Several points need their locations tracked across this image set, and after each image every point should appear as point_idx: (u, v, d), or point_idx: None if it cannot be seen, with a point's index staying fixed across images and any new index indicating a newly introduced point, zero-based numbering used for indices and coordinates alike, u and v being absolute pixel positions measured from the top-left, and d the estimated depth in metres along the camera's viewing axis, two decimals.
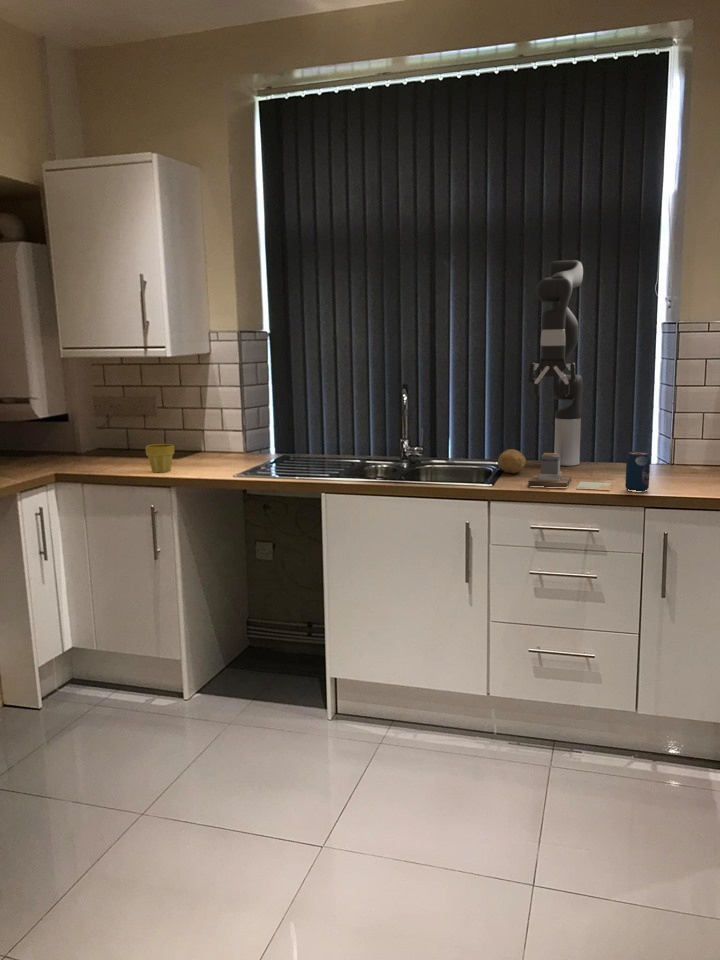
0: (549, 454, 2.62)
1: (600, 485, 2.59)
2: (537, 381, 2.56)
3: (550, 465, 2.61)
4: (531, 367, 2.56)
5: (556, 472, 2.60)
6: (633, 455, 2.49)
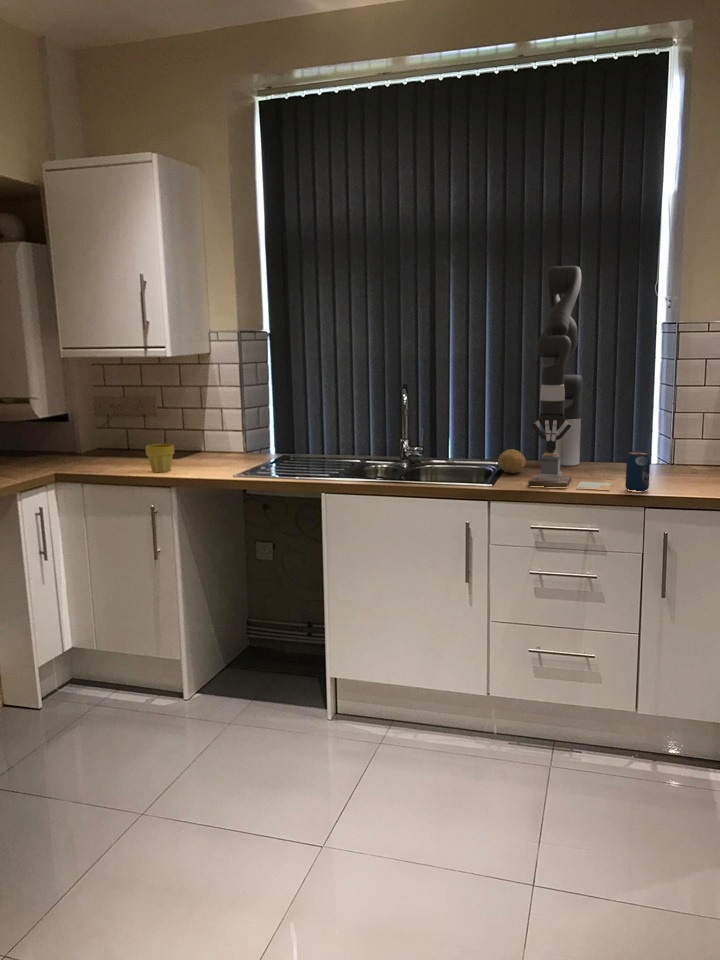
0: (549, 454, 2.62)
1: (600, 485, 2.59)
2: (549, 438, 2.61)
3: (550, 465, 2.61)
4: (535, 427, 2.62)
5: (556, 472, 2.60)
6: (633, 455, 2.49)
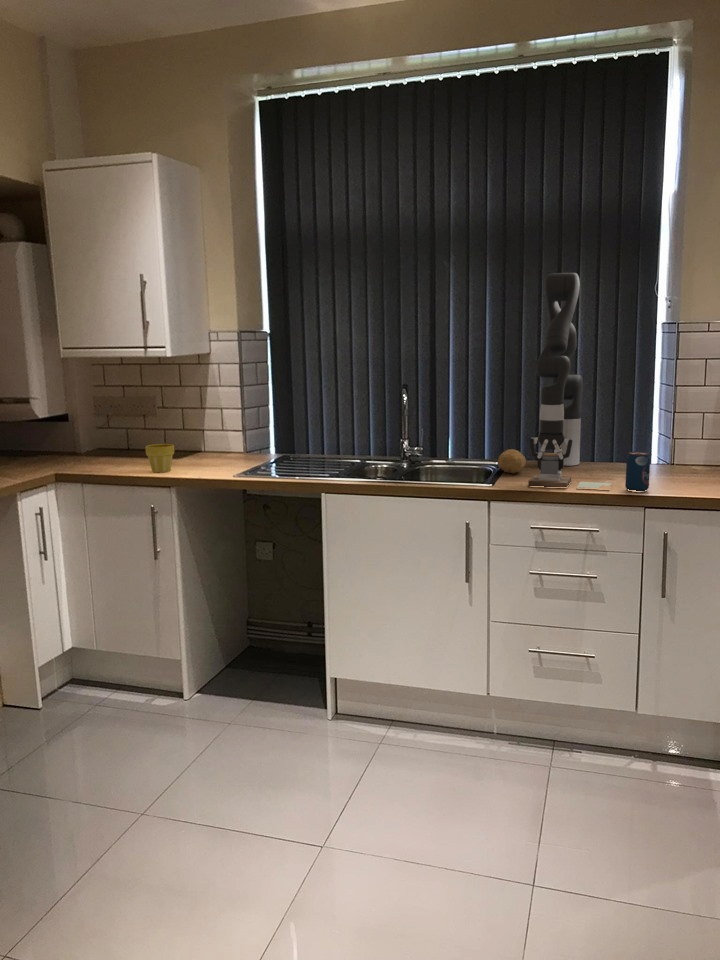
0: (549, 454, 2.62)
1: (600, 485, 2.59)
2: (540, 455, 2.63)
3: (550, 465, 2.61)
4: (531, 442, 2.63)
5: (556, 472, 2.60)
6: (633, 455, 2.49)
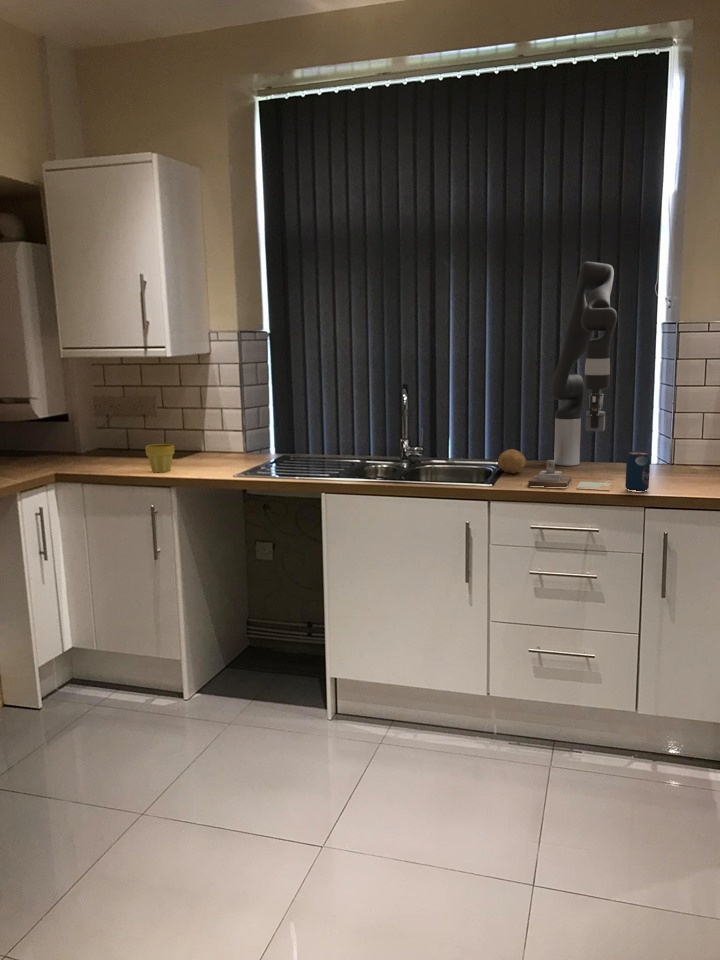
0: (594, 410, 2.56)
1: (600, 485, 2.59)
2: (592, 411, 2.58)
3: None
4: None
5: None
6: (633, 455, 2.49)
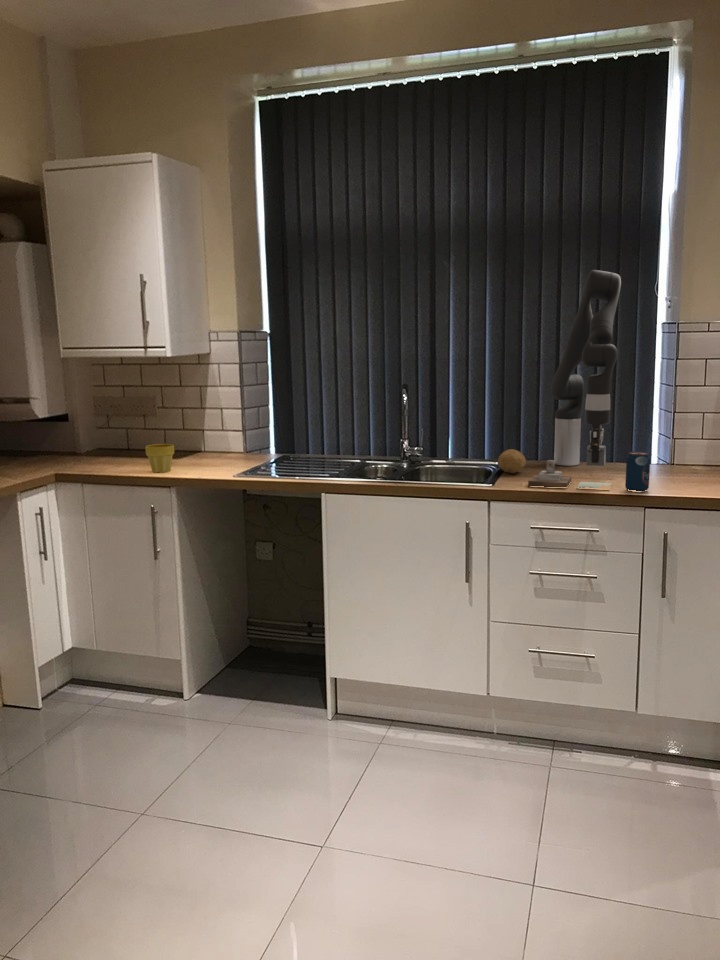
0: (595, 445, 2.57)
1: (600, 485, 2.59)
2: None
3: None
4: None
5: (586, 462, 2.57)
6: (633, 455, 2.49)
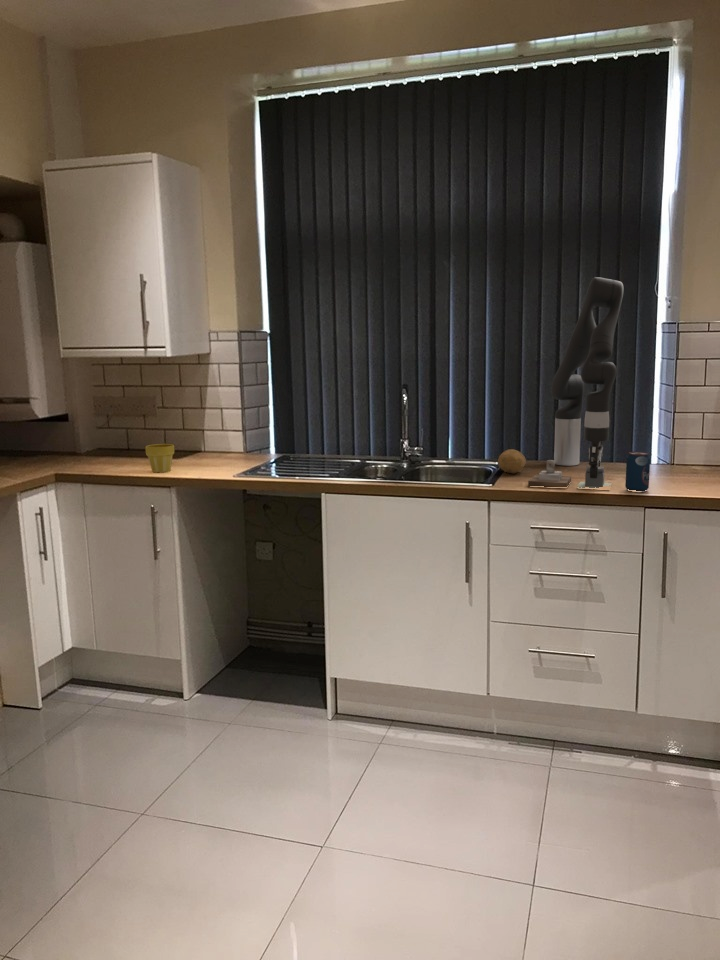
0: None
1: None
2: None
3: None
4: None
5: (585, 484, 2.58)
6: (633, 455, 2.49)
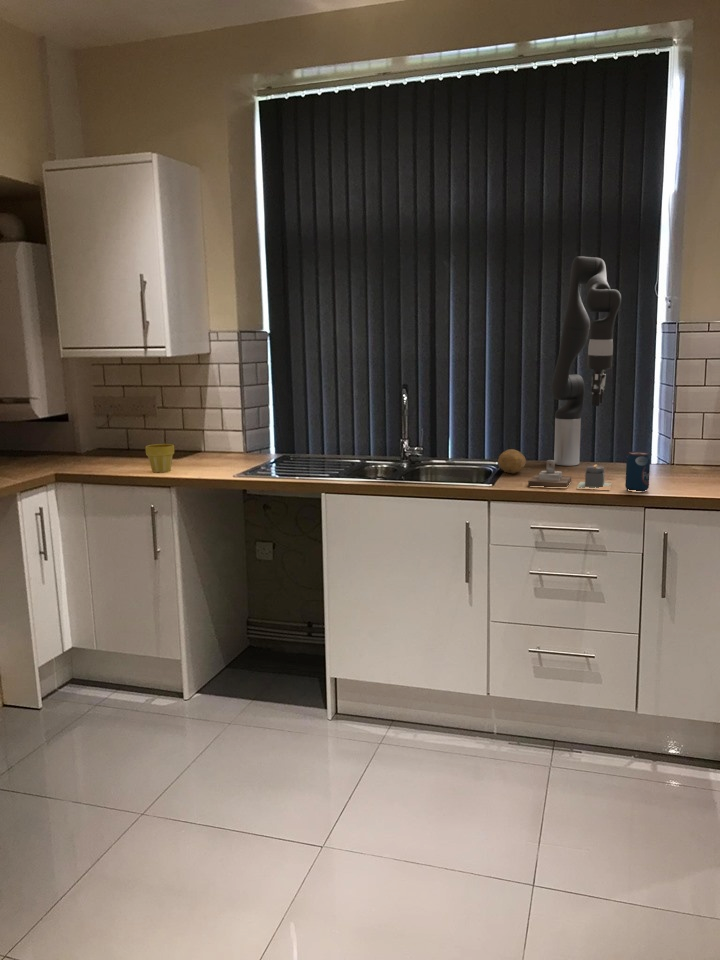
0: (593, 466, 2.59)
1: None
2: None
3: None
4: None
5: (585, 484, 2.58)
6: (633, 455, 2.49)
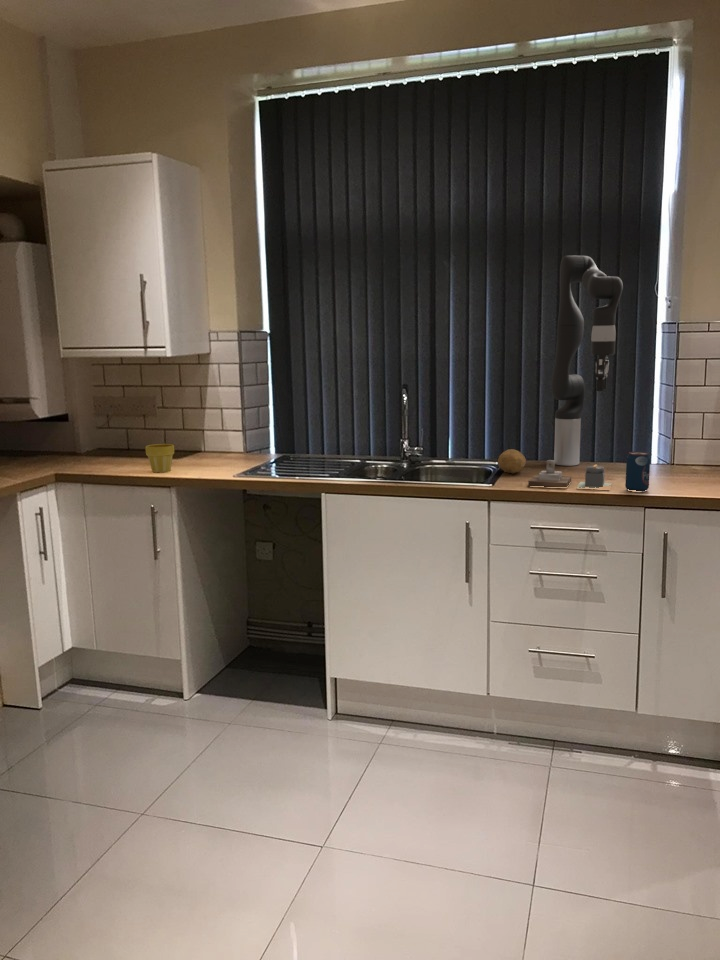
0: (593, 466, 2.59)
1: None
2: None
3: None
4: None
5: (585, 484, 2.58)
6: (633, 455, 2.49)
